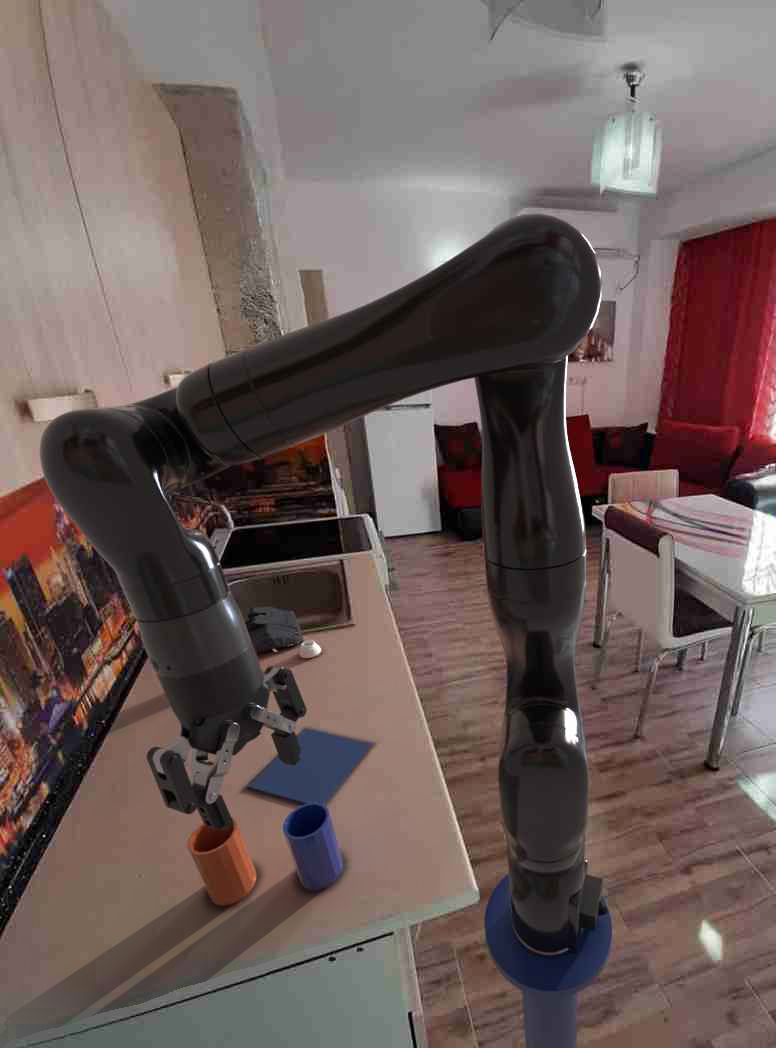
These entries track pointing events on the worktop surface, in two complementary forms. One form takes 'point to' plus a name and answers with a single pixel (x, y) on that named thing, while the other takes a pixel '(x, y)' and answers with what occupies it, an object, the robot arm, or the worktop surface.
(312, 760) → the blue mat
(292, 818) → the blue cup
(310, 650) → the lidless jar
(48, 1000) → the worktop surface
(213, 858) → the terracotta cup
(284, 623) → the dark slate chunk
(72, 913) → the worktop surface
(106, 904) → the worktop surface
